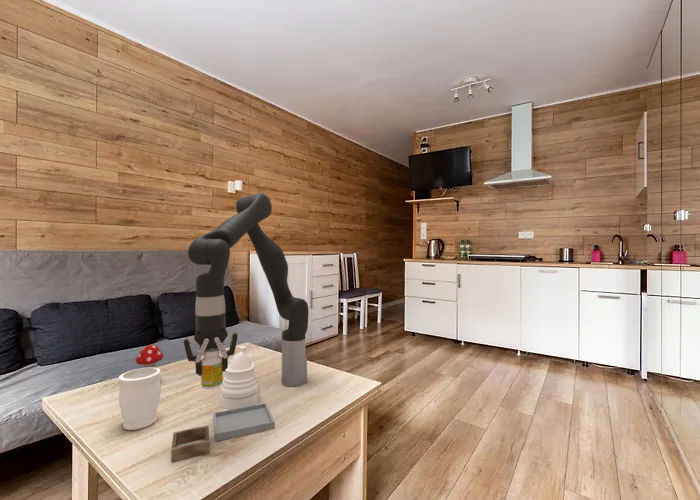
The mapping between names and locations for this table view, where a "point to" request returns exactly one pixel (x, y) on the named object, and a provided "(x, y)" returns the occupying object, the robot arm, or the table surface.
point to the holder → (190, 449)
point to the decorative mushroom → (149, 356)
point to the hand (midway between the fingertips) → (212, 372)
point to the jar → (139, 397)
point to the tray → (242, 421)
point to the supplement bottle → (211, 369)
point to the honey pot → (239, 383)
